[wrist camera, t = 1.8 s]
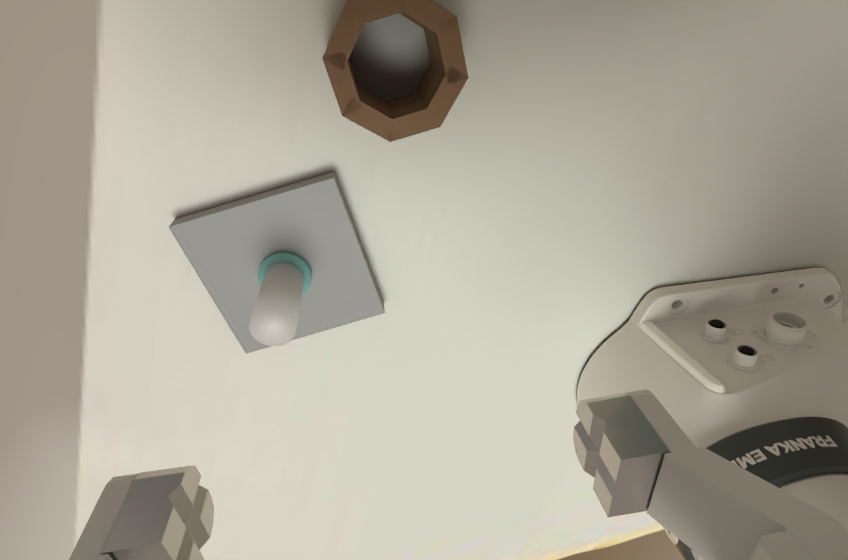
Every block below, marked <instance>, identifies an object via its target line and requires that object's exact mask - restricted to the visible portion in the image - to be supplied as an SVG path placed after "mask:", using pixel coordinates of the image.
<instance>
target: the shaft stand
mask: <svg viewBox="0 0 848 560" xmlns="http://www.w3.org/2000/svg"><path fill="white" fill-rule="evenodd" d="M169 229H170V230H171V232H172V233H173V235H174V237H175V238H176V240H177V242H178V243H179V245H180V247H181V248H182V250H183V251H184V253H185V255H186V256H187V258H188V260H189V261H190V263H191V264H192V266H193V268H194V269H195V271H196V273H197V274H198V276H199V278H200V279H201V281H202V282H203V284H204V286H205V287H206V289H207V291H208V292H209V294H210V296H211V297H212V299H213V300H214V302H215V304H216V305H217V307H218V309H219V310H220V312H221V313H222V315H223V317H224V318H225V320H226V322H227V323H228V325H229V327H230V328H231V330H232V331H233V333H234V335H235V336H236V338H237V340H238V341H239V343H240V345H241V346H242V348H243V349H244V351H245V353H250V352H253V351H256V350H260V349H263V348H267V347H270V346H280V345H284V344H286V343H288V342H289V341H291V340H294V339H297V338H301V337H304V336H308V335H311V334H314V333H318V332H321V331H325V330H328V329H332V328H335V327H338V326H342V325H345V324H349V323H352V322H355V321H359V320H362V319H366V318H369V317H372V316H376V315H379V314H383V313H385V311H384V303H383V300H382V298H381V295H380V292H379V290H378V287H377V284H376V282H375V279H374V276H373V274H372V271H371V268H370V265H369V263H368V260H367V257H366V255H365V252H364V249H363V247H362V244H361V241H360V239H359V236H358V233H357V231H356V228H355V225H354V223H353V220H352V217H351V215H350V212H349V209H348V207H347V204H346V201H345V199H344V196H343V193H342V191H341V188H340V185H339V183H338V180H337V177H336V175H335V172H334V171H333V172H330V173H327V174H323V175H320V176H317V177H313V178H310V179H307V180H303V181H300V182H297V183H293V184H290V185H287V186H283V187H280V188H277V189H273V190H270V191H267V192H263V193H260V194H257V195H253V196H250V197H247V198H243V199H240V200H237V201H233V202H230V203H227V204H223V205H220V206H217V207H213V208H210V209H207V210H203V211H200V212H197V213H193V214H190V215H187V216H183V217H180V218H177V219H175V220H174V221H173V222H172V224H171V225H170V226H169Z"/></svg>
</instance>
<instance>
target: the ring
mask: <svg viewBox="0 0 848 560" xmlns="http://www.w3.org/2000/svg"><path fill="white" fill-rule="evenodd" d="M397 13H401V14H402V15H404V16H405V17H407V18H408V19H410V20H411V21H413V22H414V23H416V24H417V25H419V26H420V27H422V28H423V29H424V32H425V36H426V41H427V45H428V50H429V54H430V58H431V63H432V64H431V66H430V68H429V70H428V71H427V73H426V75H425V77H424V79H423V81H422V83H421V85H420V86H419V88H418V90H417V92H416V93H415V94H411V95H408V96H405V97H401V98H398V99H395V100H391V101H388V102H385V101H384V100H382V99H380V98H379V97H377V96H375V95H373V94H372V93H370V92H368V91H367V90H365V89H363V88H361V87H360V86H358V83H357V80H356V77H355V73H354V70H353V67H352V64H351V61H350V54H351V52H352V50H353V48H354V46H355V44H356V41H357V39H358V37H359V35H360V33H361V30H362V28H363V26H364V24H365V23H367V22H370V21H374V20H377V19H380V18H384V17H387V16H390V15H393V14H397ZM323 61H324V64H325V67H326V69H327V72H328V75H329V78H330V81H331V84H332V87H333V90H334V93H335V96H336V99H337V102H338V105H339V107H340V110H341V113H342V116H344V117H346V118H347V119H349V120H351V121H353V122H355V123H357V124H358V125H360V126H362V127H364V128H366V129H368V130H369V131H371V132H373V133H375V134H377V135H379V136H380V137H382V138H384V139H386V140H388V141H390V142H391V141H395V140H398V139H401V138H405V137H408V136H411V135H415V134H418V133H421V132H425V131H428V130H431V129H435V128H438V127H440V126H441V124H442V123H443V121H444V119H445V117H446V116H447V114H448V112H449V110H450V109H451V107H452V105H453V103H454V102H455V100H456V98H457V96H458V95H459V93H460V91H461V89H462V88H463V86H464V84H465V82H466V81H467V79H468V74H467V69H466V64H465V58H464V53H463V48H462V43H461V38H460V32H459V27H458V22H457V17H455V16H454V15H453V14H451V13H450V12H448V11H447V10H445V9H444V8H442V7H441V6H440V5H438V4H437V3H435V2H434V1H432V0H348V1H347V4H346V6H345V8H344V10H343V13H342V15H341V17H340V20H339V22H338V24H337V26H336V29H335V31H334V33H333V36H332V38H331V40H330V42H329V45H328V47H327V49H326V52H325V54H324V56H323Z"/></svg>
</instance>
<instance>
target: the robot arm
mask: <svg viewBox="0 0 848 560" xmlns="http://www.w3.org/2000/svg"><path fill="white" fill-rule="evenodd" d="M673 302H674V303H673ZM842 307H843V299H842V292H841V288H840V285H839V283H838V281H837V279H836V278H835V276H834V275H833V274H832V273H830V272H829V271H828V270H826V269H825V268H809V269H801V270H793V271H785V272H777V273H770V274H762V275H754V276H746V277H738V278H731V279H723V280H715V281H707V282H699V283H691V284H684V285H676V286H668V287H661V288H657V289H654V290H652V291H651V292H649V293H648V294H647V295H646V296H645V297H644V298H643V300H642V301H641V302H640V304H639V305H638V307H637V308H636V310H635V311H634V313H633V315H632V316H631V318H630V319H629V321H628V322H627V323H626V324H625V325H624V326H623V327H622V328H621V329H619V330H618V331H617V332H616V333H615V334H613V335H612V336H611V337H610V338H609V339H608V340H606V341H605V342H604V343H603V344H602V345H601V346H600V347H599V349H598V350H597V351H596V352H595V353H594V354H593V356H592V357H591V358H590V360H589V361H588V363H587V365H586V366H585V368H584V370H583V372H582V375H581V377H580V380H579V384H578V389H577V402H578V405H577V411H576V413H577V415H578V417H579V419H580V421H579V422H578V424H577V425H576V426H575V427H574V435H573V440H574V446H575V451H576V454H577V457H578V460H579V462H580V464H581V466H582V468H583V470H584V471H586V472H587V473H589V474H590V475H592V476H593V477H595V480H594V486H593V489H594V491H595V493H596V495H597V497H598V499H599V501H600V503H601V505H602V507H603V509H604V511H605V512H606V514H607V516H608V517H612V516H618V515H624V514H630V513H637V512H643V511H647V513H648V514H649V515H650V516H651V517H653V518H654V519H655V520H656V521H657V522H659V523H660V524H661V525H662V526H663V528H664V530H665V531H666V533H667V535H668V536H669V538H670V539H671V541H672V542H673V543H674V544H675V545H676V546H677V548H678V549H679V551H680V552H681V554H682V555H683V557H684V559H685V560H848V326H847V325H846V324H845V323H844V322H842V321H841V317H842ZM200 478H201V475H200V473H199V471H198V470H197V468H196V466H186V467H179V468H172V469H164V470H157V471H150V472H143V473H137V474H131V475H124V476H117V477H113V478H112V479H111V480H110V481H109V482H108V483H107V484H106V486H105V488H104V490H103V492H102V494H101V496H100V498H99V500H98V502H97V504H96V506H95V508H94V510H93V512H92V514H91V516H90V518H89V520H88V522H87V524H86V526H85V528H84V530H83V532H82V534H81V536H80V538H79V540H78V542H77V544H76V547H75V549H74V551H73V553H72V555H71V557H70V559H69V560H204V558H203V556H202V554H201V552H200V548H201V547H202V546H203V545H204V544H205V543H206V541H207V540H208V539H209V538H210V535H211V531H212V527H213V517H214V506H213V502H212V497H211V495H210V493H209V491H208V489H206V488H204V487H202V486H200V485H199V481H200Z"/></svg>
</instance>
